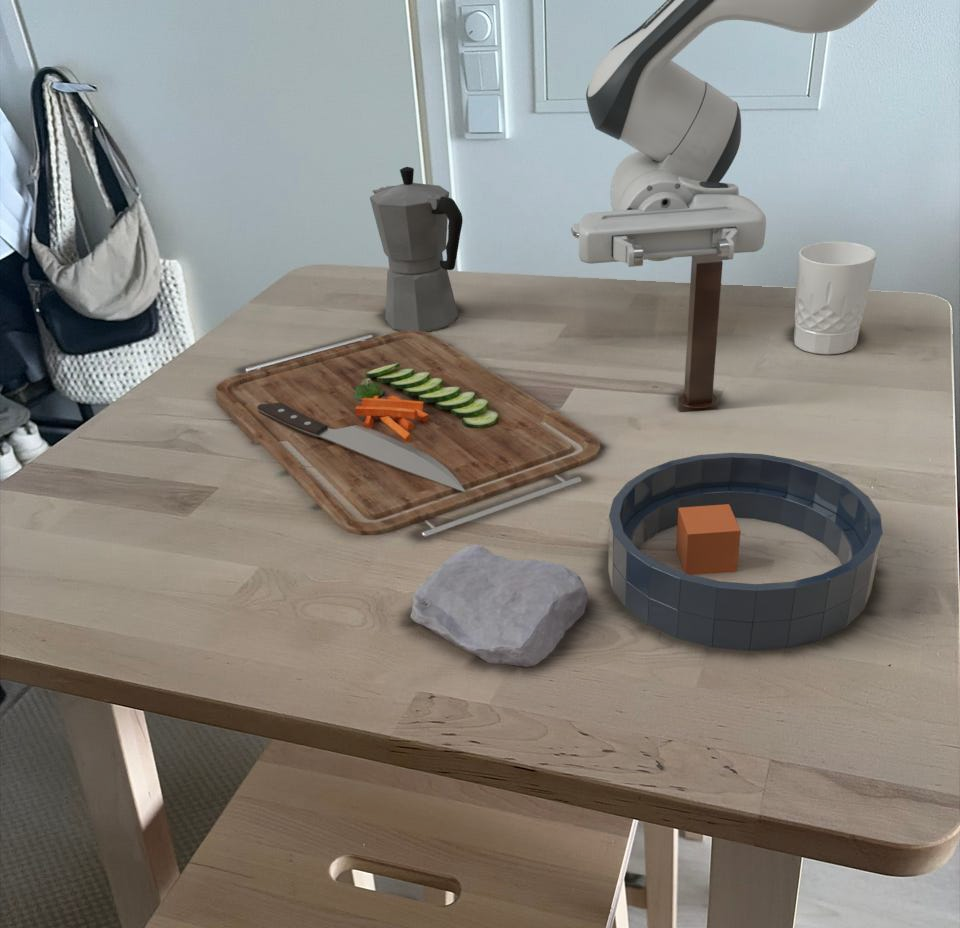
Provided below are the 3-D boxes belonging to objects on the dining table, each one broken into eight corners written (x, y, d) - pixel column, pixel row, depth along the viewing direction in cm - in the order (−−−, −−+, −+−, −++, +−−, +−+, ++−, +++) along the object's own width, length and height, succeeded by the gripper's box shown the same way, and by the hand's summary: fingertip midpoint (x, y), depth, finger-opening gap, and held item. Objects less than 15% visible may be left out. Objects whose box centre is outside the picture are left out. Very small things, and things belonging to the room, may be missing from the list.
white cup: (865, 357, 112) (881, 264, 106) (790, 357, 113) (802, 265, 107) (856, 330, 118) (871, 240, 112) (785, 330, 119) (796, 241, 113)
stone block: (538, 701, 73) (598, 605, 78) (527, 656, 70) (590, 559, 75) (402, 660, 79) (466, 573, 84) (385, 616, 75) (453, 528, 80)
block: (725, 547, 83) (729, 503, 81) (736, 574, 80) (740, 530, 77) (675, 550, 83) (678, 507, 81) (684, 578, 80) (687, 534, 77)
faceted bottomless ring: (825, 508, 88) (835, 444, 84) (906, 649, 72) (923, 579, 69) (595, 524, 88) (595, 461, 85) (627, 668, 73) (629, 599, 69)
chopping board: (631, 471, 95) (631, 441, 93) (369, 565, 85) (364, 534, 84) (411, 331, 127) (408, 306, 125) (202, 388, 117) (196, 362, 115)
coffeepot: (360, 319, 131) (339, 168, 120) (417, 298, 136) (402, 151, 125) (439, 348, 122) (424, 187, 111) (497, 324, 127) (488, 168, 116)
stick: (712, 398, 106) (724, 250, 97) (721, 415, 103) (733, 263, 94) (674, 401, 106) (681, 253, 97) (681, 418, 103) (689, 266, 94)
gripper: (569, 195, 116) (581, 231, 105) (750, 182, 116) (781, 217, 105) (569, 252, 120) (581, 293, 109) (744, 239, 120) (774, 279, 109)
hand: (681, 255), depth 107 cm, fingers open, 8 cm apart
